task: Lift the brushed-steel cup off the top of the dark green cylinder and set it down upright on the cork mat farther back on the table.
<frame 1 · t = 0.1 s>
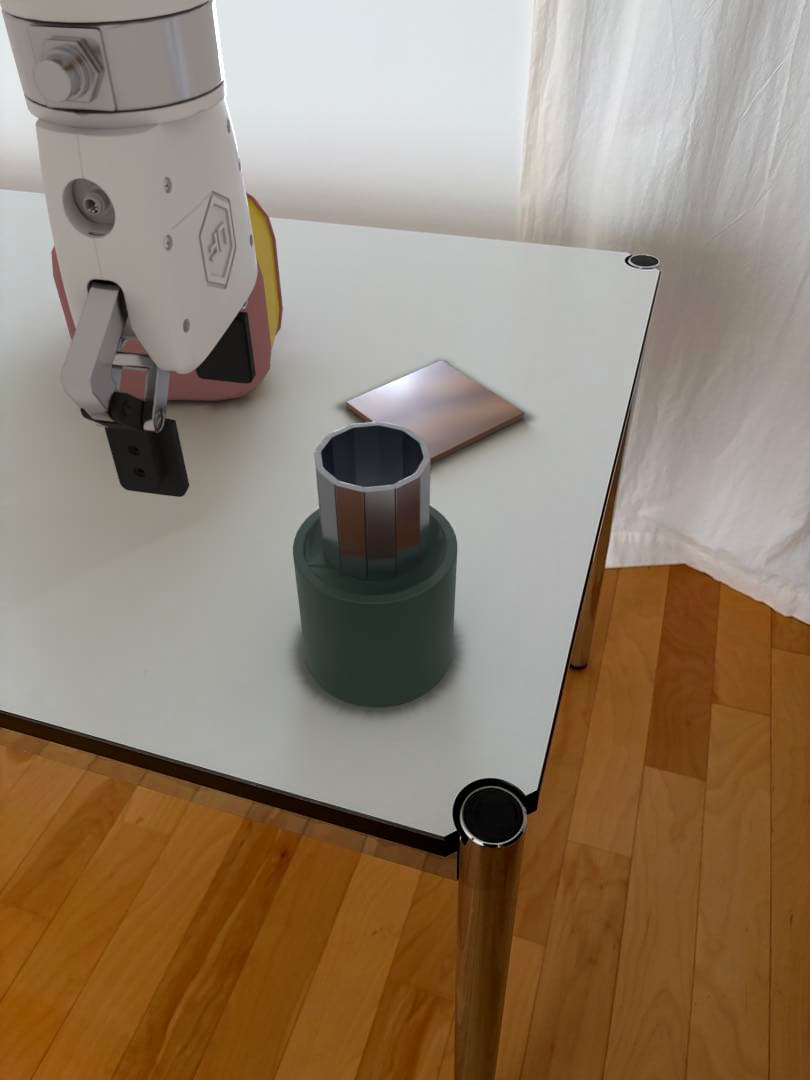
hand: (194, 430, 45), 22 cm above the table, tool pointing down, fingers open, 9 cm apart
cup: (375, 543, 57), point 10 cm above the table, touching dark green cylinder
coaster mat: (434, 412, 85), on the table
alarm clock: (191, 379, 90), on the table
dark green cylinder: (378, 648, 63), on the table
mug: (196, 288, 104), on the table
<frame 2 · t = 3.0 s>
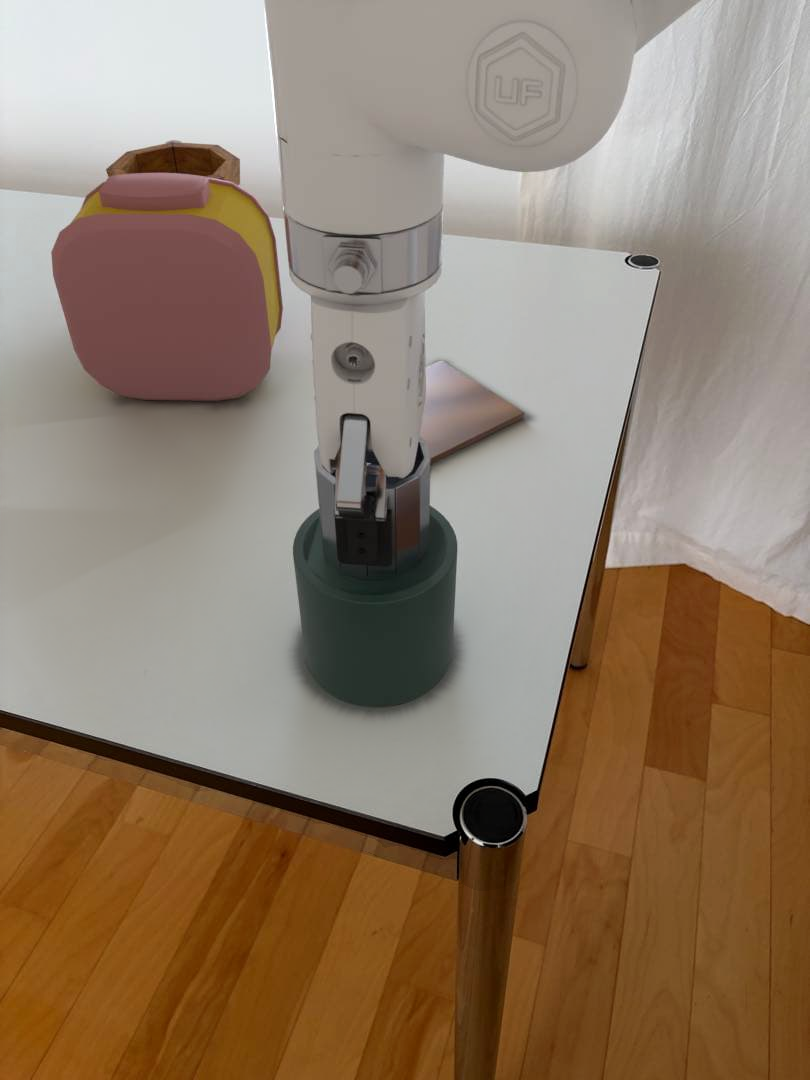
hand: (374, 517, 55), 12 cm above the table, tool pointing down, fingers closed on cup, 6 cm apart
cup: (375, 543, 57), point 10 cm above the table, touching gripper, dark green cylinder
everything else where it was.
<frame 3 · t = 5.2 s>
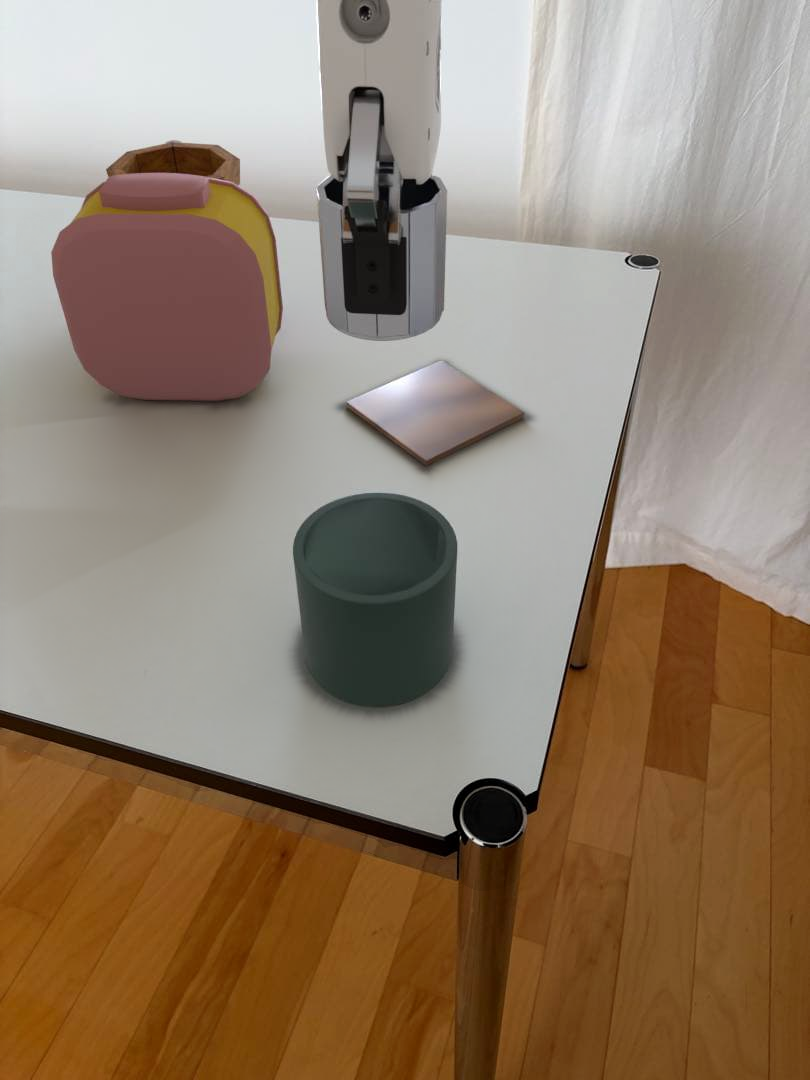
hand: (383, 276, 50), 26 cm above the table, tool pointing down, fingers closed on cup, 6 cm apart
cup: (384, 311, 51), point 24 cm above the table, touching gripper
everything else where it was.
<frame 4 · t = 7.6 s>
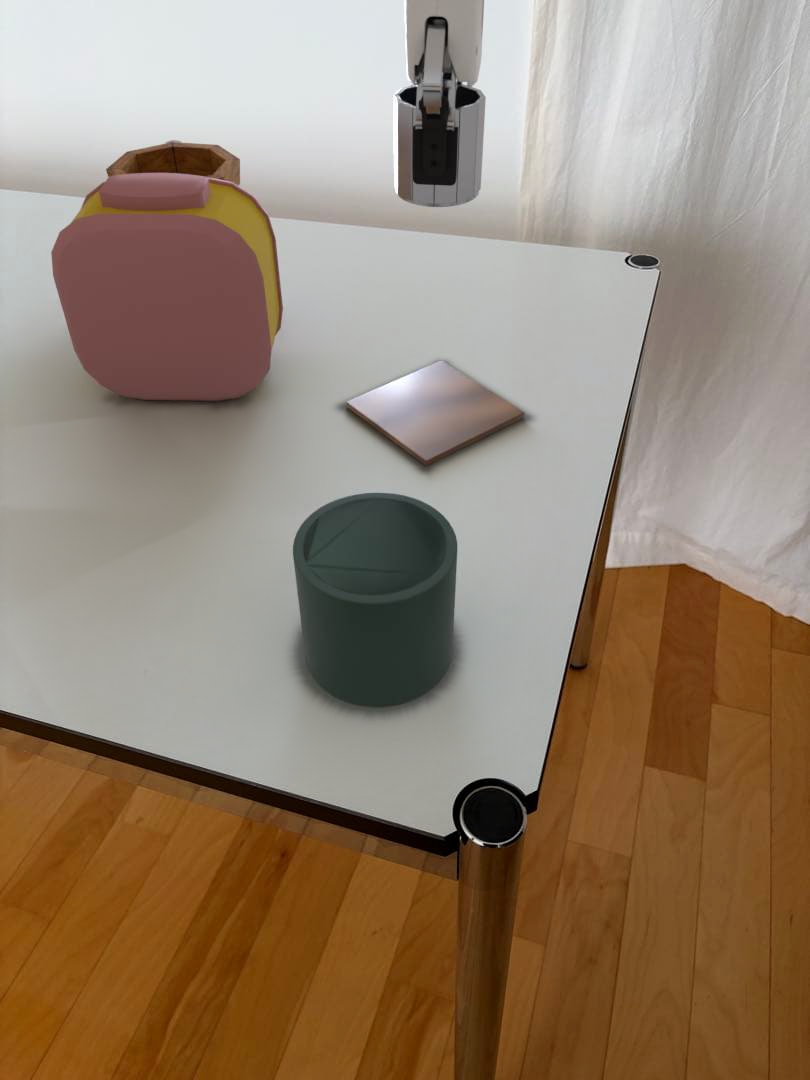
hand: (438, 162, 69), 23 cm above the table, tool pointing down, fingers closed on cup, 6 cm apart
cup: (437, 190, 71), point 21 cm above the table, touching gripper
everything else where it was.
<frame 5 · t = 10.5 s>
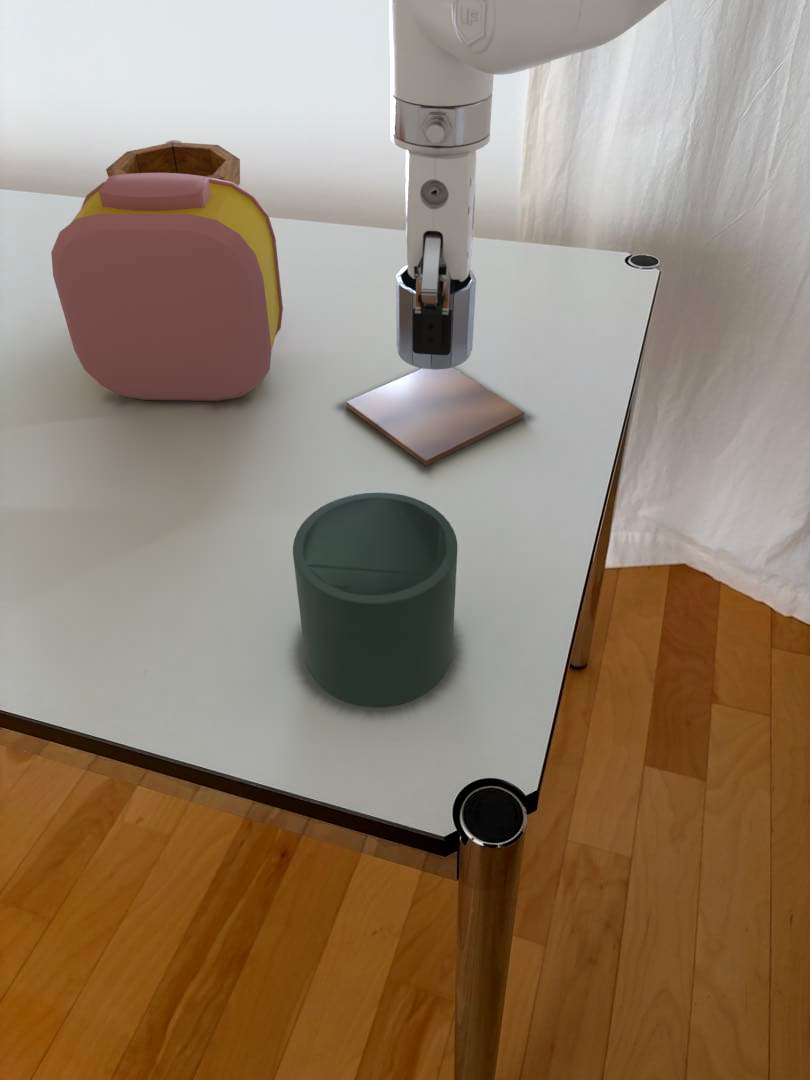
hand: (435, 329, 79), 9 cm above the table, tool pointing down, fingers closed on cup, 6 cm apart
cup: (434, 350, 81), point 7 cm above the table, touching gripper
everything else where it was.
when the fingers open (3 cm above the table, at t = 12.5 s): cup stays where it is, resting on coaster mat.
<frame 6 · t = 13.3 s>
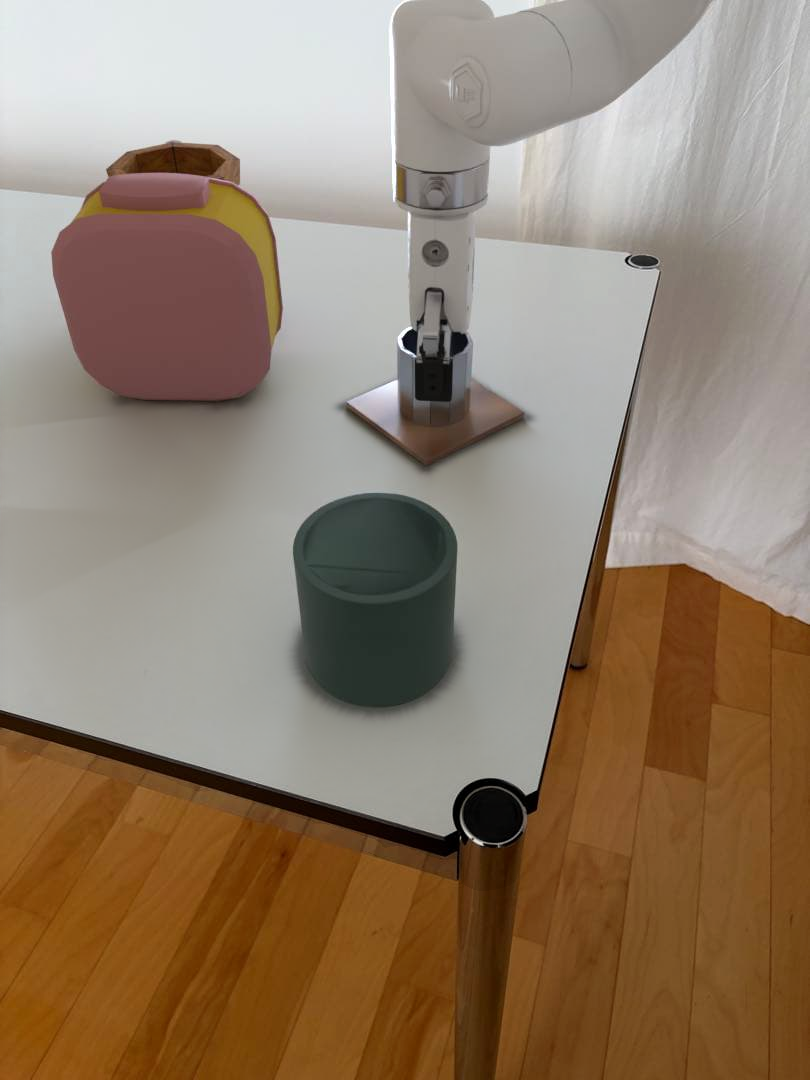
hand: (438, 370, 82), 5 cm above the table, tool pointing down, fingers open, 9 cm apart
cup: (433, 406, 85), point 1 cm above the table, touching coaster mat
everything else where it was.
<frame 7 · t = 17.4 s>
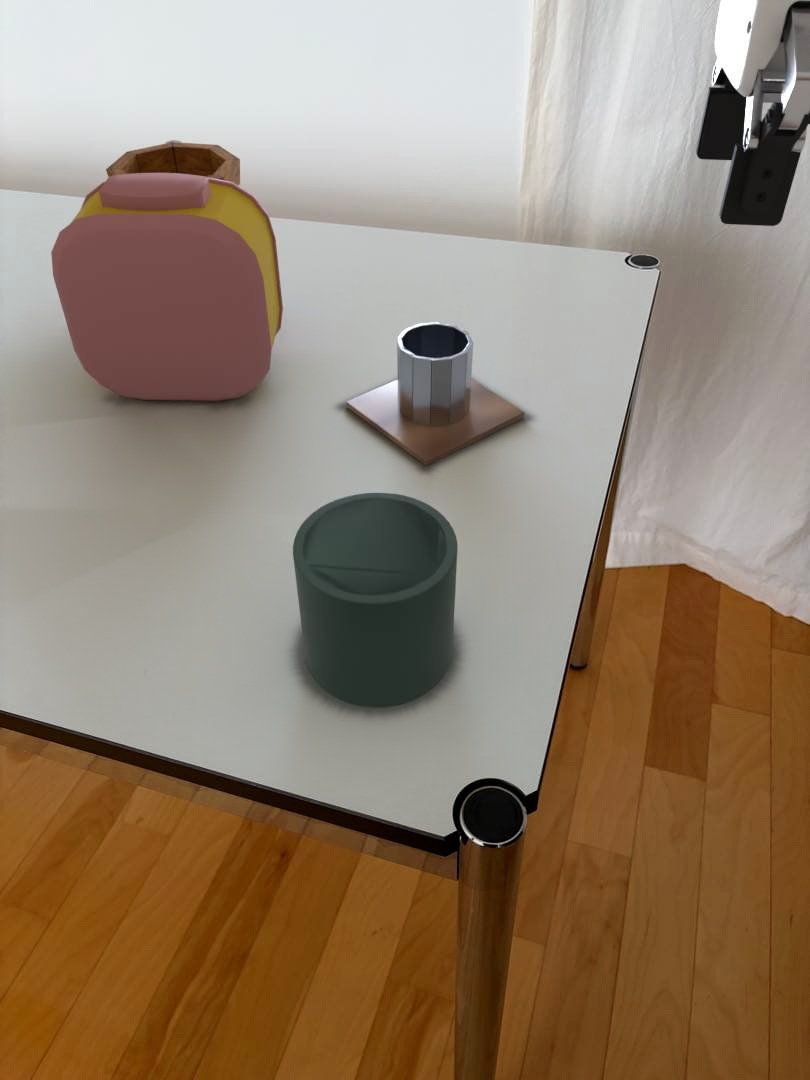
hand: (734, 188, 52), 28 cm above the table, tool pointing down, fingers open, 9 cm apart
nothing on the table moved.
at the end: cup inside the target area on the coaster mat (0.1 cm from its centre), point 0.6 cm above the coaster mat's base; cup tilted 0°; cup touching coaster mat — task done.
